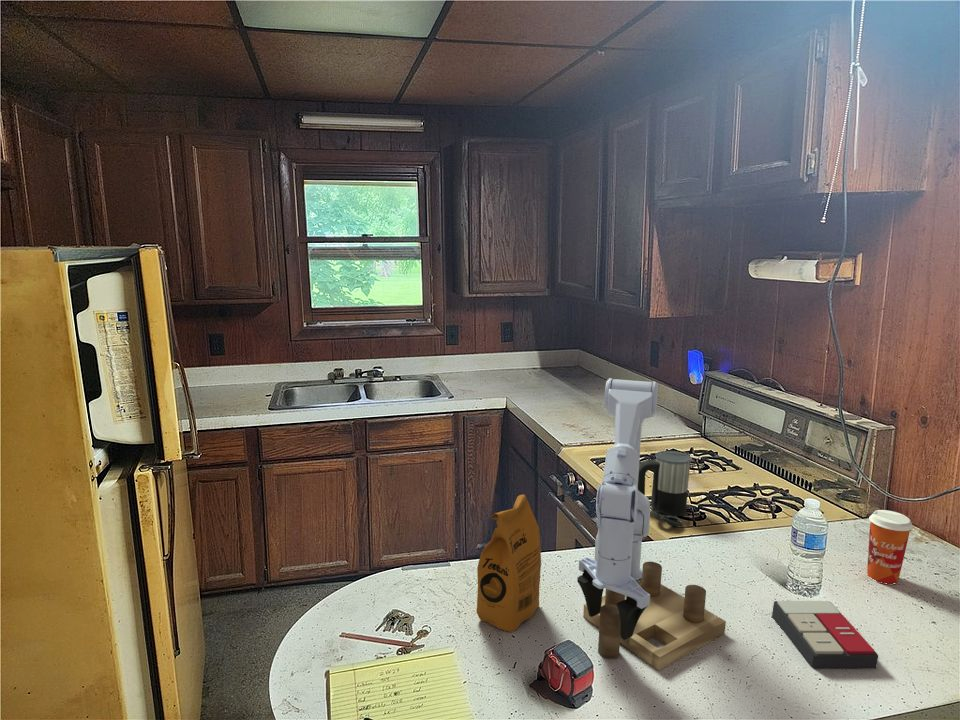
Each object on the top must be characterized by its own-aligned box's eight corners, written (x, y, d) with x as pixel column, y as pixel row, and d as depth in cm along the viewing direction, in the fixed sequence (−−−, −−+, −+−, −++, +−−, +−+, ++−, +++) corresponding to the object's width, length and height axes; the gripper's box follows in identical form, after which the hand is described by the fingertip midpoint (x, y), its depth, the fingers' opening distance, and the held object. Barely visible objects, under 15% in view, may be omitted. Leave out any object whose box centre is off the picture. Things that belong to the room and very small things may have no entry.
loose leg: (593, 650, 110) (595, 608, 109) (608, 643, 112) (610, 602, 111) (608, 661, 107) (611, 619, 106) (623, 654, 109) (626, 612, 108)
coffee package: (467, 618, 119) (468, 509, 115) (504, 589, 129) (506, 487, 125) (512, 638, 113) (515, 524, 109) (547, 606, 123) (550, 500, 119)
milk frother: (674, 500, 173) (678, 448, 170) (711, 525, 158) (716, 469, 155) (628, 506, 169) (631, 453, 166) (662, 533, 154) (666, 475, 151)
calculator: (815, 652, 105) (773, 597, 120) (811, 674, 106) (770, 616, 121) (880, 652, 106) (830, 597, 120) (876, 674, 107) (827, 616, 121)
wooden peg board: (583, 616, 120) (585, 578, 118) (647, 588, 130) (650, 552, 128) (658, 670, 105) (661, 627, 104) (724, 633, 115) (728, 593, 114)
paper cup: (857, 578, 135) (865, 516, 132) (866, 564, 140) (874, 505, 137) (900, 592, 129) (910, 528, 127) (907, 577, 135) (917, 516, 132)
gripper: (567, 541, 110) (564, 612, 112) (630, 578, 98) (625, 656, 101) (596, 531, 114) (593, 599, 116) (660, 565, 102) (655, 641, 105)
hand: (610, 625), depth 109 cm, fingers open, 7 cm apart
